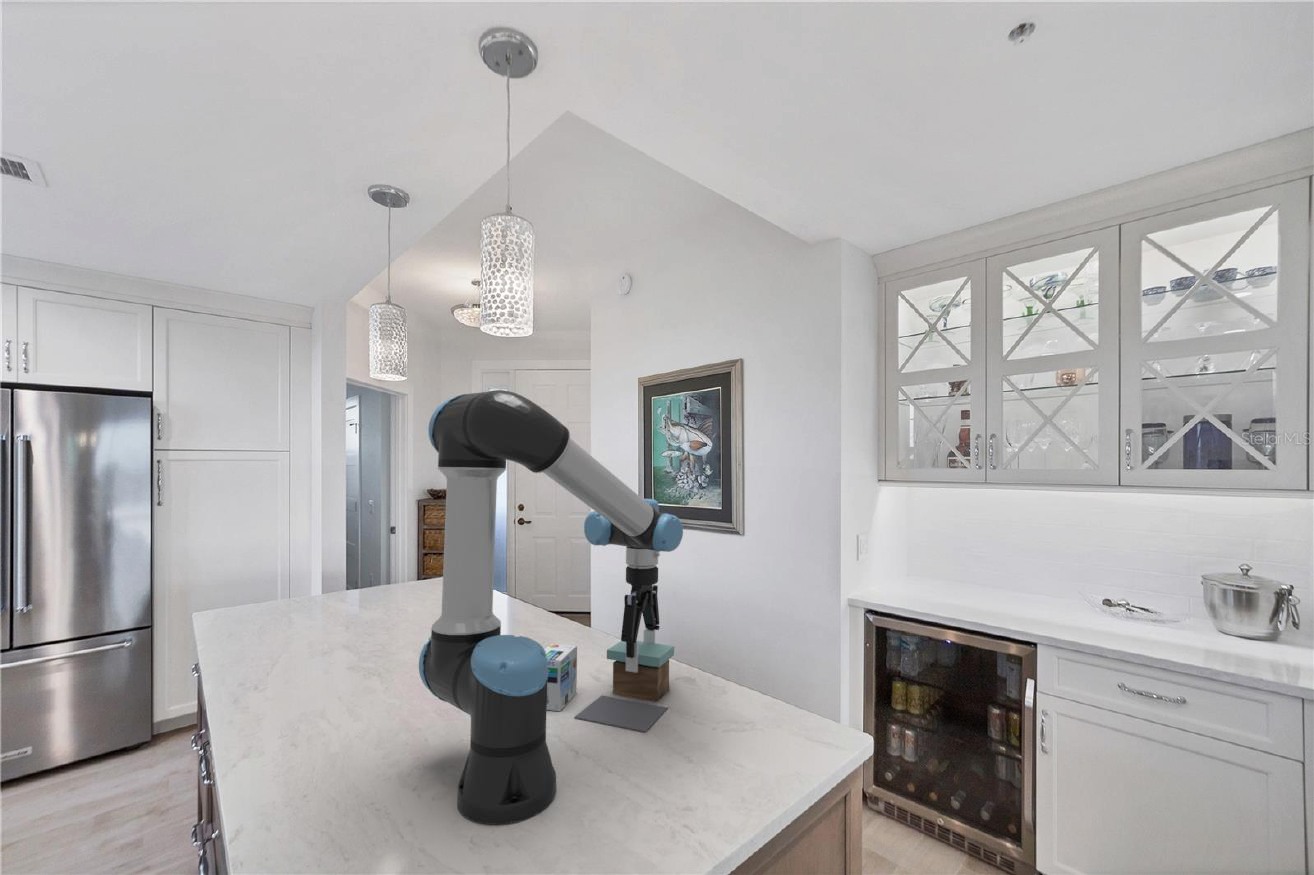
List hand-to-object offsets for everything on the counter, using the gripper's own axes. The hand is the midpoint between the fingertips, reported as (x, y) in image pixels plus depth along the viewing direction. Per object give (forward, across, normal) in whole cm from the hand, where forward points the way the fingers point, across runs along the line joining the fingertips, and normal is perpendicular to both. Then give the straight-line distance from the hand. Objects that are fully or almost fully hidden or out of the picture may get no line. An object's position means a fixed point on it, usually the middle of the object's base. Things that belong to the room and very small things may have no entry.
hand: (640, 664), depth 132 cm
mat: (+6, -12, -1) cm, 13 cm away
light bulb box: (+7, -12, +15) cm, 21 cm away
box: (+6, 0, 0) cm, 6 cm away
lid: (-1, 0, 0) cm, 1 cm away
